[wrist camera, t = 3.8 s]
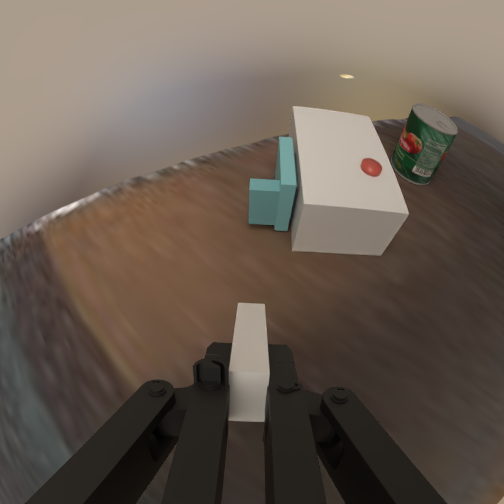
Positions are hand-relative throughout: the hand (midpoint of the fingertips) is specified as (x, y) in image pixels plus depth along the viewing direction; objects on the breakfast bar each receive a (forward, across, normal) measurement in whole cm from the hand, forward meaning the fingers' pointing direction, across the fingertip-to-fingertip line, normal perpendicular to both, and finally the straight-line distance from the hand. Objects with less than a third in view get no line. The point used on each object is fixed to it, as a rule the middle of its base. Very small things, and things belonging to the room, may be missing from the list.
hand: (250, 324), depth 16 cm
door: (+21, +2, +6) cm, 22 cm away
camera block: (+23, +10, +7) cm, 26 cm away
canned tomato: (+29, +26, +13) cm, 41 cm away
